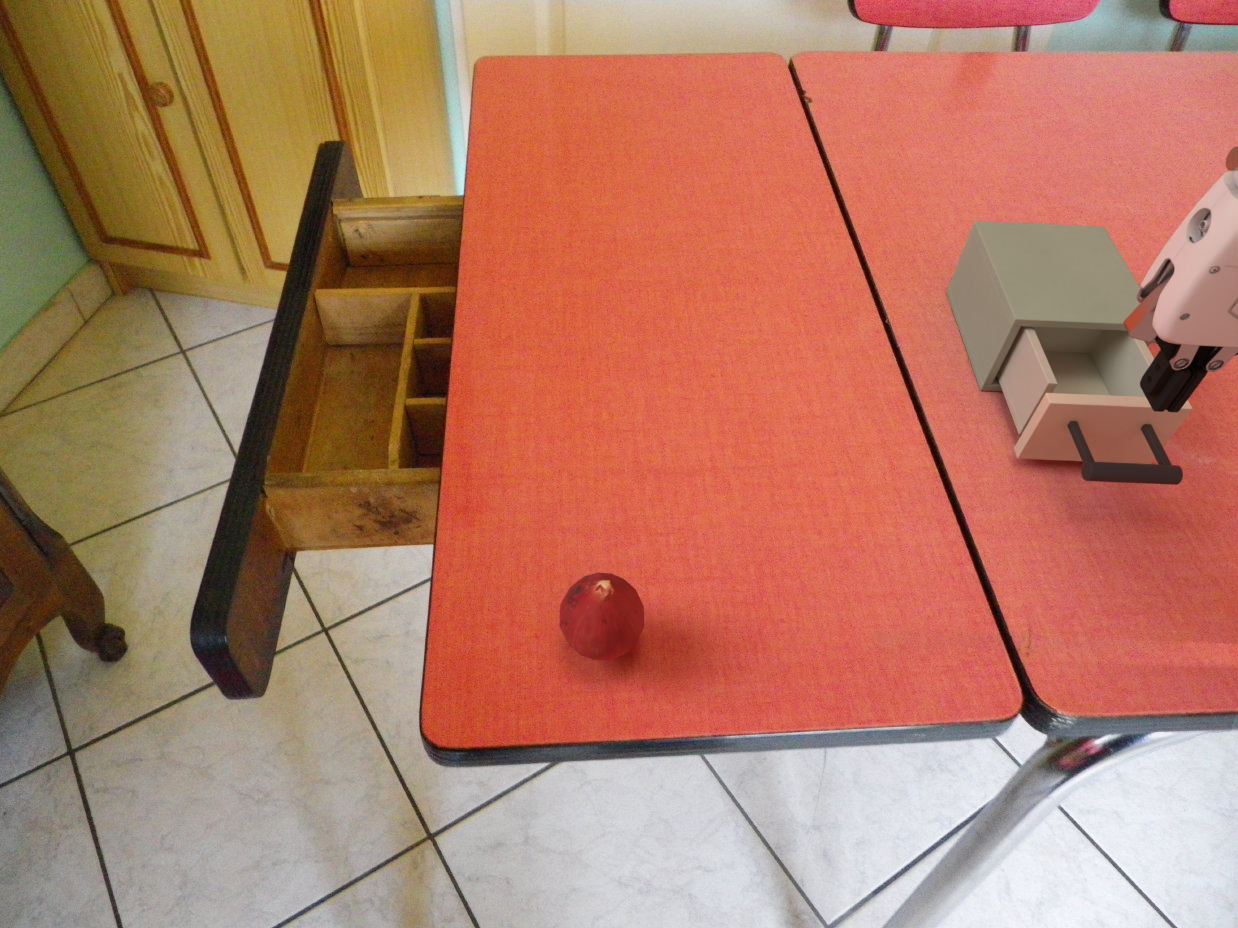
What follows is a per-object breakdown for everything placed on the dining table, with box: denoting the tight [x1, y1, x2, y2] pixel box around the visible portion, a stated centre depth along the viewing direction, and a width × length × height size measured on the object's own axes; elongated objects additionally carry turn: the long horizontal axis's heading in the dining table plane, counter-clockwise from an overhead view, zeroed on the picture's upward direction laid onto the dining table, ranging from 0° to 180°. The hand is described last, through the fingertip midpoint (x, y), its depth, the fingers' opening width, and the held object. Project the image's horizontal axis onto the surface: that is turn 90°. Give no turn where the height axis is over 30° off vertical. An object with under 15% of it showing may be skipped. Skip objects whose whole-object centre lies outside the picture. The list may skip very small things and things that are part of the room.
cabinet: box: [945, 220, 1151, 392], centre depth 80 cm, size 15×13×9 cm
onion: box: [558, 572, 645, 661], centre depth 58 cm, size 6×6×8 cm
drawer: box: [997, 326, 1193, 486], centre depth 72 cm, size 19×11×7 cm, turn 178°
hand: (1157, 398), depth 63 cm, fingers closed
